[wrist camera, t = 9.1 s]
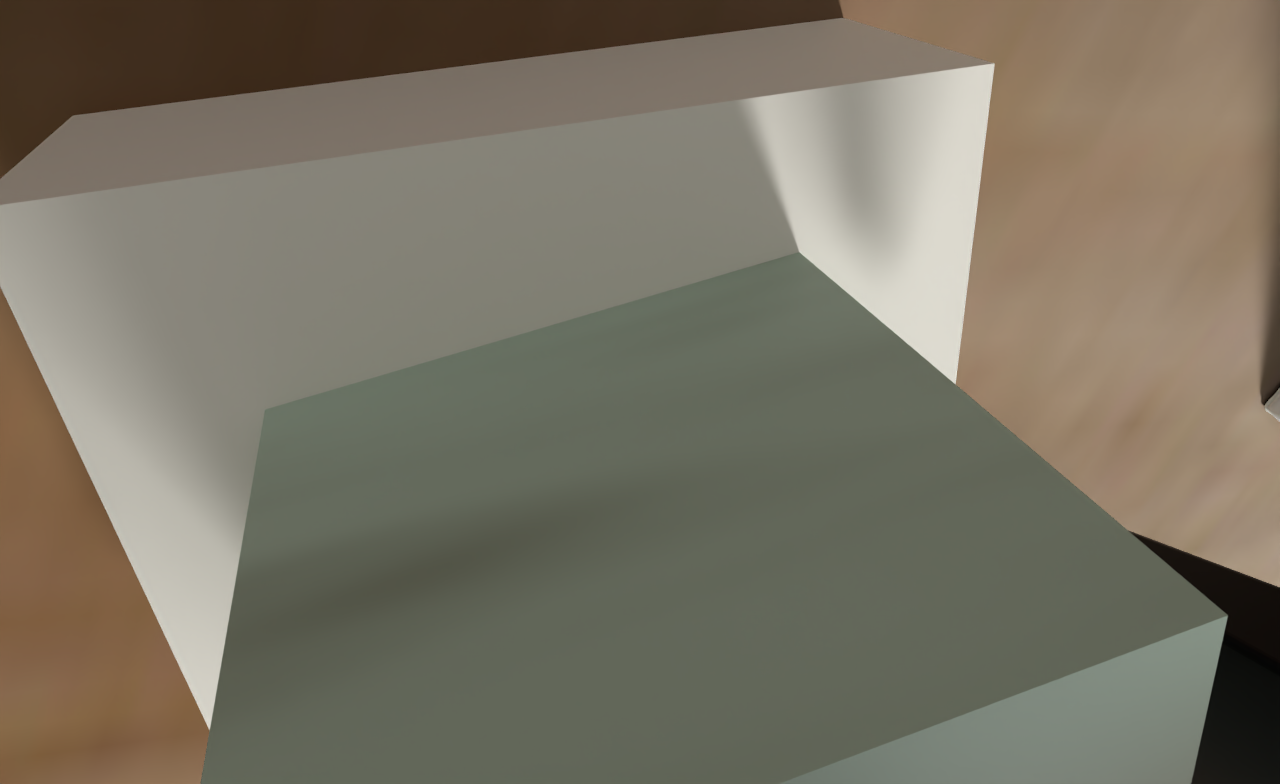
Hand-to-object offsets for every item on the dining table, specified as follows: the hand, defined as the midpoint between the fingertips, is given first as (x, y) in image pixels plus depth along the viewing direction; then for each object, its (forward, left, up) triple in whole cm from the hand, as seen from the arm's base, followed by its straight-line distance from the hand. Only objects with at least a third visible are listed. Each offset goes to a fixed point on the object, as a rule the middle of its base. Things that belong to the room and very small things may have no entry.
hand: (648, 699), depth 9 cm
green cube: (0, 0, -3) cm, 3 cm away
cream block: (0, 0, -7) cm, 7 cm away
